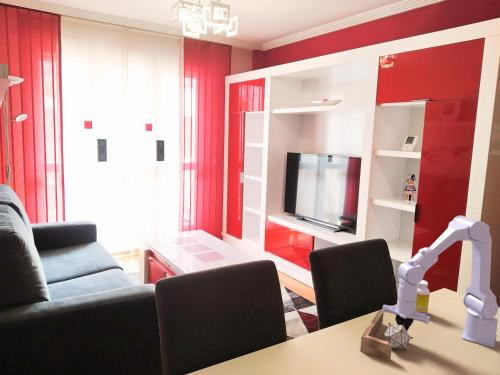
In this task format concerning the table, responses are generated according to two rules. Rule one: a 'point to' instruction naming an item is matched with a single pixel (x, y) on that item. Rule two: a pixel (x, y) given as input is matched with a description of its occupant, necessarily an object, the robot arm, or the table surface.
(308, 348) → the table surface
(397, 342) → the game die
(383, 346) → the l-shaped bracket
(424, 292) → the supplement bottle
